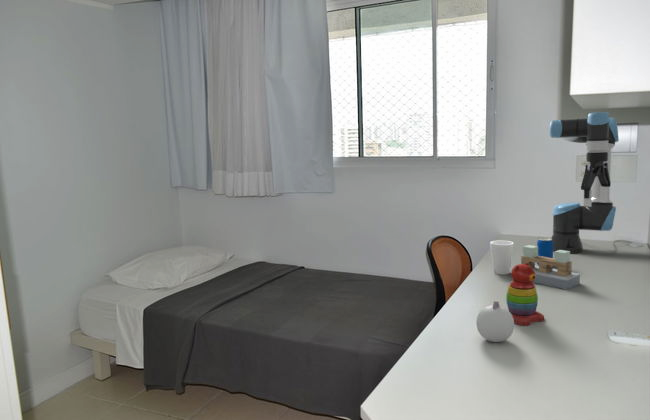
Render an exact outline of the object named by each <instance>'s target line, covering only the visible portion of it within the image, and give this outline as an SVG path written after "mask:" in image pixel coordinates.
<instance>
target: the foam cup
mask: <svg viewBox="0 0 650 420" xmlns="http://www.w3.org/2000/svg"><path fill="white" fill-rule="evenodd" d="M489 245H490V246H489V248H490V252H491V254H490V255H491V261H492V266H493V267H492V268H493V273H494V274H497V275H502V276H503V275H508V274H510V273H511V265H512V261H513V260H512V259H513V254H514V253H513V252H514V249H515V243H514V242H513V241H511V240H502V239H501V240H492V241H490V242H489Z"/></svg>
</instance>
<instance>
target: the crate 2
mask: <svg viewBox="0 0 650 420" xmlns="http://www.w3.org/2000/svg"><path fill="white" fill-rule="evenodd" d="M553 258H554V262H559V263H567V262H570V261H571V253H570V251H565V250H558V251H554V254H553Z"/></svg>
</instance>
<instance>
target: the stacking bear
mask: <svg viewBox="0 0 650 420" xmlns="http://www.w3.org/2000/svg"><path fill="white" fill-rule="evenodd" d="M510 273H511V278H512V281H511V282H510V283H509V285H508V287H507V292H506V299H505V300H506V305H507V310H508V311H509V312H510V313H511V315H512V317H513V319H514V324H516V325H519V326H530V325H531V324H532V323H534V322H543V321H545V319H546V318H545V315H544V314H543V313H541V312H539V311H537V307H538V300H539V295H538V293H537V289H536V284H535V283H534V282H533V281H534V280H535V277H536V274H535V272H534V271H533V269H532V268H531V267H530V266H529V265H528V263H525V264H521V263H520V264H516V265H514V266H513V267H512V269H511V270H510Z"/></svg>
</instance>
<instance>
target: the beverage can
mask: <svg viewBox="0 0 650 420" xmlns="http://www.w3.org/2000/svg"><path fill="white" fill-rule="evenodd" d="M551 238H552V237H551ZM551 238H550V237H539V238H538V240H536V246H538V256H542V257H548V258H554V251H553V241H552V239H551ZM536 265H537V266H539V263H536Z"/></svg>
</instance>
